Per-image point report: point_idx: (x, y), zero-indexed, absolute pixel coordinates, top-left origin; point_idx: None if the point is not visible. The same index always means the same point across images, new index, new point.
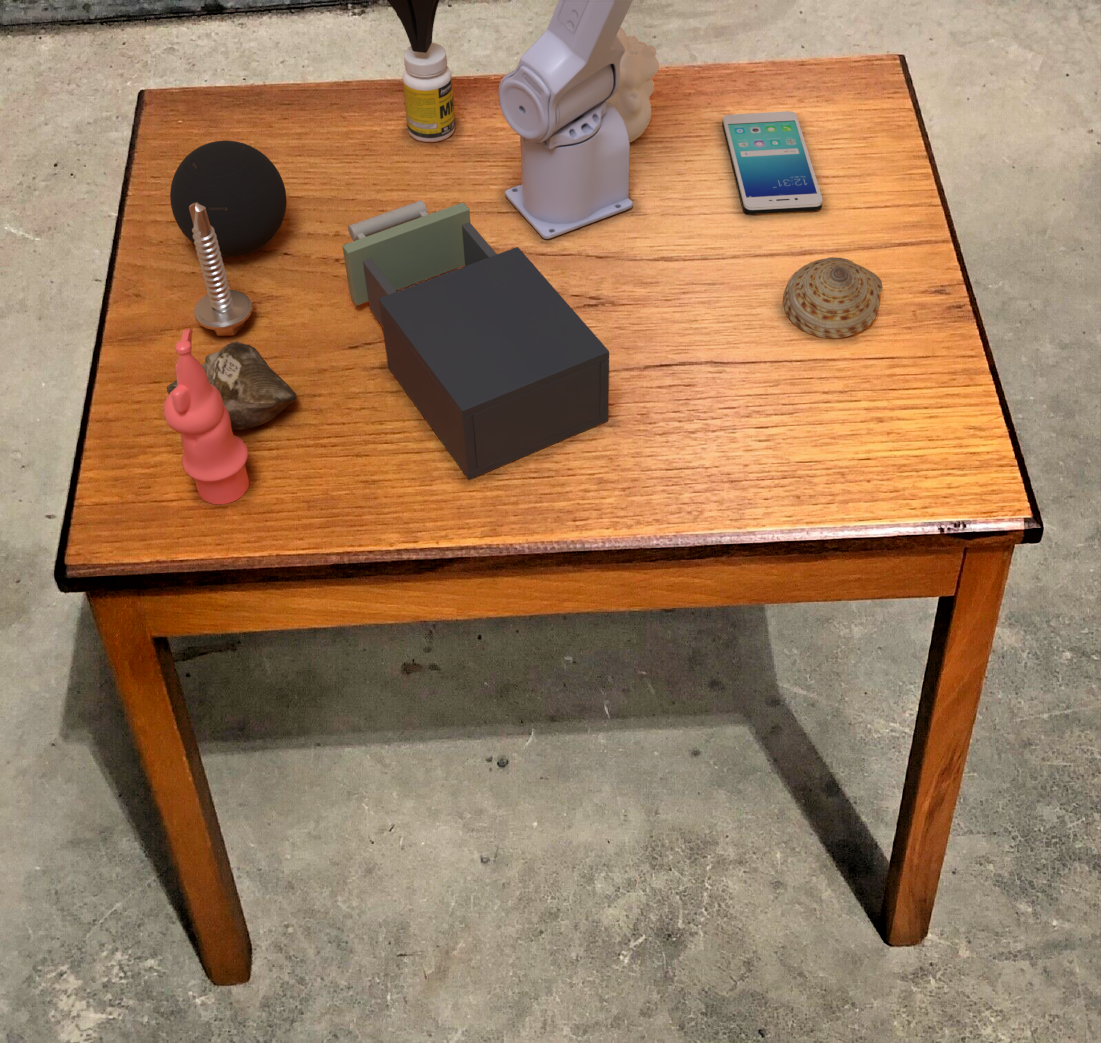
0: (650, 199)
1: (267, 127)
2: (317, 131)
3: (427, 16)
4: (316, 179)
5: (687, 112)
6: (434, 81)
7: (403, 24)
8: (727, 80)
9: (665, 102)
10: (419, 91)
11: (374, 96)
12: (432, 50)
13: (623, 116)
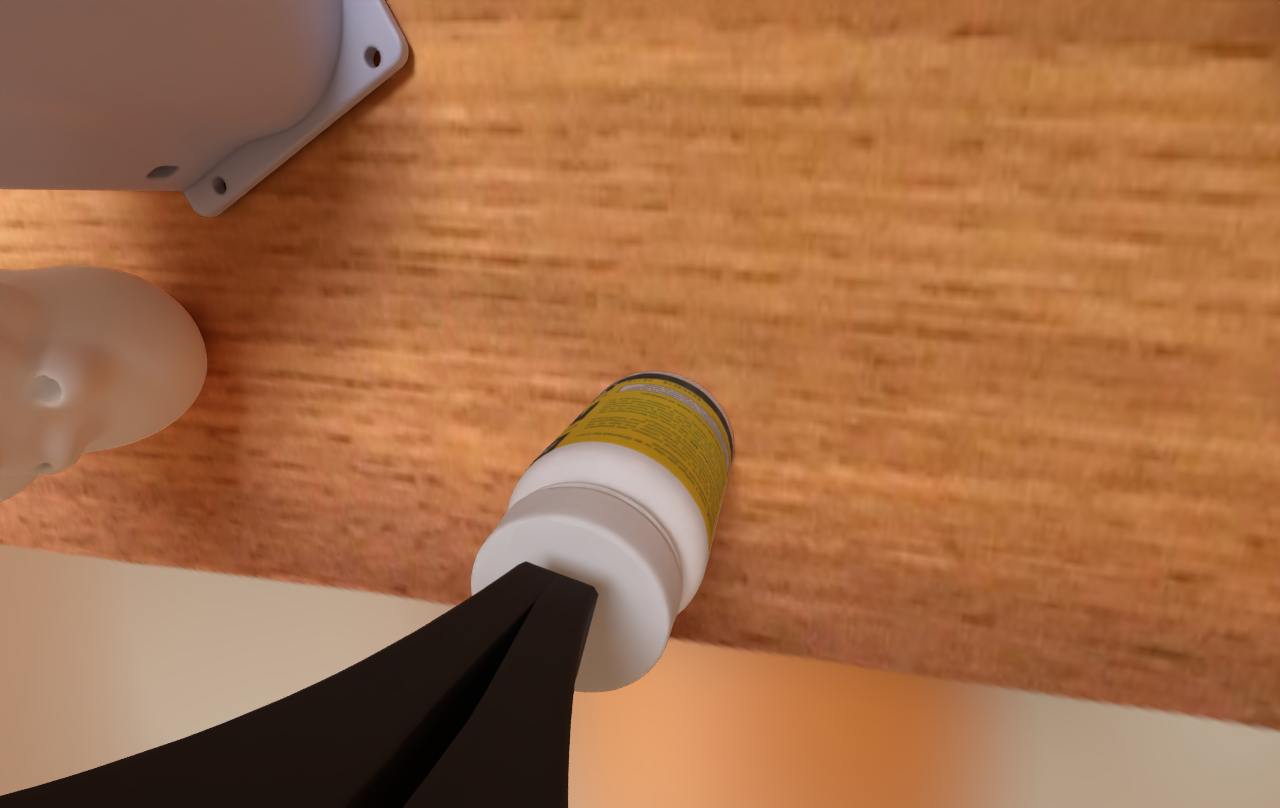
0: None
1: (1272, 542)
2: (1062, 489)
3: (271, 712)
4: (1111, 185)
5: None
6: (556, 471)
7: (558, 727)
8: (34, 525)
9: (121, 469)
10: (633, 445)
11: (838, 632)
12: None
13: (3, 270)
